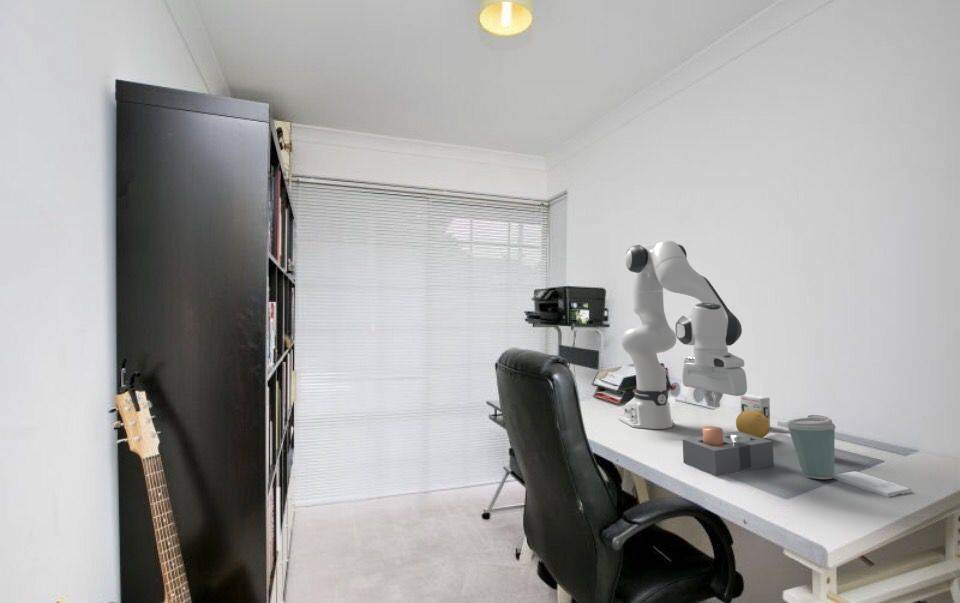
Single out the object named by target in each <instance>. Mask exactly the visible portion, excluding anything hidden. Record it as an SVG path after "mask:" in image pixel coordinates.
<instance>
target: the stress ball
mask: <svg viewBox="0 0 960 603" xmlns="http://www.w3.org/2000/svg"><path fill="white" fill-rule="evenodd" d="M735 427H736V428H737V431H738V432H742V433H745V434H749V435H752V436H756V437H759V438H763V439H764V438H765V437H766V436H768V434H769V432H770V429H769V422H768V419H767V418H766V417H765V416H764V415H763V414H762V413H761V412H759V411H755V410H746V411H743V412H742V413H741V412H740V413H739V414H738V415H737V417H736V420H735Z"/></svg>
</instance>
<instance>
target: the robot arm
mask: <svg viewBox="0 0 960 603" xmlns="http://www.w3.org/2000/svg"><path fill="white" fill-rule="evenodd" d="M687 255H688V254H687V250H686V248H685V247H684V246H683V245H682V244H677V242H675V241H673V240H668V239H667V240H663V241H660V242H657V243H649V244H642V245H641V244H636V245H632V246H630V247H629V248H628V249H627V251H626V253H625V258H624V259H625V260H624V261H625V265H626V268H627V269H628V271H629V272H631V273H634V277H633V310H634V313H635V314H636V315H637V316H638V317H639V319H640V322H641V324H642V326H636V327H633V328H630V329H627V330H626V331H625V332H624V333H623V335H622V336H621V345H622V347H623V351H625V352H626V353H627V354H628V355H629V356H630V358H631V360H632V362H633V365H634V370H635V380H636V387H635V389H634V388H633V389H632V393H634V394H633V395H634V396H633V398H631V399H630V400H629V401H628V402H627V403H625V404H624V408H623V414H622V415H619V416H617V419H618V420H619V421H621V422H623V423H625V424H626V425H628V426H630V427H632V428H637V429H638V428H639V429H650V430H662V429H670V428H672V427H673V424H674V419H672V413H671V407H670V402H669V401H668V399H669V391H668V389H667V374H666V373H667V371H666V368H665V367H664V366H663V365H662V364H661V363H660V361H659V358H658V355H657V354H660V353H665V352H667V351H669V350H671V349H673V348H674V346H675V345H676V344H677V339H678V341H679V342H680V343H681V344H683V345H686V346H693V356H687V357H686V358H685V359H684V360H683V367H682V375H681V376H682V377H681V378H682V384H683V386H684V387H686V388H687V387H688V388H691V389H698V390H702V394H703V396H704V397H705V399H706V406H708V407H712V408H720V406H721V403H720V401H721V400H722V398H723V396H724V395H729V396H734V397H740V396H741V395H745V394H747V391H748V385H747V384H748V382H747V376H746V371H745V369H744V368H743V367H744V366H745V360H744V359H743V358H741V357H739V356H737V355H735V354H732V353H731V352H728V350H729V349H728V346H732V345H734V344H735V343H736V342H737V341H738V340H739V339H740V338H741V336H742V332H743V328H742V324H741V322H740V320H739V319H738V317H737V316H736V315H735V314H734V313H733V312H731V311H730V309H729V308H728V306H727V305H726V303H725V302H724V300H723V299H722V297H721V296H720V295H719V293H718V292H717V290H716V289H715V287H714V286H713V285H712V284H711V282H710V281H709V280H708V278H706V277H705V276H703V275H702V274H700V273H699V272H697V270H695V269H694V268H693V267H692V265H690V263H689V260H688V259H687V258H688V256H687ZM664 290H666V291H669V292H670V293H671V292H672V293H675V294H682V295H684V296H690V297H692V298H695V299H697V300H698V301H700V303H696V304H695V305H694V306H693V308H692V310H691V311H690V312H689V313H688V314H686V315H681V317H680V318H678V319H677V321H676V322H675V331H674V330H673V329H672V328H671V326H670V325H669V322H668V320H667V317H666V313H665V307H664V306H665V305H664ZM713 396H714V397H713Z"/></svg>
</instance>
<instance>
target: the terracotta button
mask: <svg viewBox="0 0 960 603" xmlns="http://www.w3.org/2000/svg"><path fill="white" fill-rule="evenodd" d="M723 430H724V429H723V428H722V427H719V426H712V425H711V426H710V425H707V426H702V436H703V443H704V444H707V445H710V446H713V447H714V446H720V445H723V433H724V431H723Z"/></svg>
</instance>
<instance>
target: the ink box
mask: <svg viewBox="0 0 960 603" xmlns="http://www.w3.org/2000/svg"><path fill="white" fill-rule="evenodd" d="M739 397H740V413H742V412H743V411H746V410H755V411H759V412H761V413H762V414H763V415H764V416H765V417H766V418H767V419H768V422H769V430H770V429H771V410H770V409H771V408H770V407H771V406H770V405H771V400H770V397H767V396H763V395H758V394H752V393H745V395H741V396H739Z"/></svg>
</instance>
